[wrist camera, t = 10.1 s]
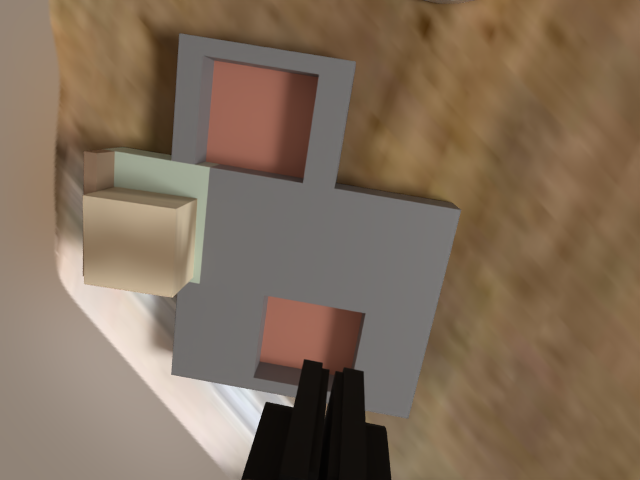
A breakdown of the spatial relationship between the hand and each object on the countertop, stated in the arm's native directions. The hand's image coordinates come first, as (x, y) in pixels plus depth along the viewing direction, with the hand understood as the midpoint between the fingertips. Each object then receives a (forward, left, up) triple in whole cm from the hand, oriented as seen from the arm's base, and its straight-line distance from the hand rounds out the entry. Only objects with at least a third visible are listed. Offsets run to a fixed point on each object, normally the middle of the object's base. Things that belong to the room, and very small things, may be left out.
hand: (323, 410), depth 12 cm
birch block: (+2, -12, -17) cm, 21 cm away
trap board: (+1, -5, -19) cm, 20 cm away
